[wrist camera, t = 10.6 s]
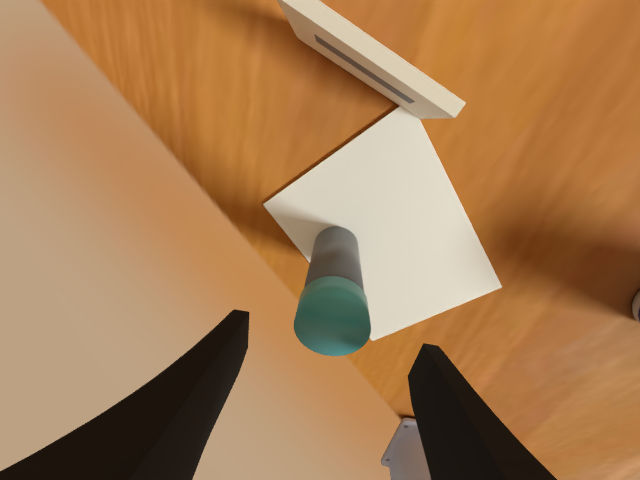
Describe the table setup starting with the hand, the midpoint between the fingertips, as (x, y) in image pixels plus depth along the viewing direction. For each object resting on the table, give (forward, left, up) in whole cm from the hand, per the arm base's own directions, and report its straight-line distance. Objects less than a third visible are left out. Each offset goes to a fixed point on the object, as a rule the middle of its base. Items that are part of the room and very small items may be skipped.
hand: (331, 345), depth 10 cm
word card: (+11, 0, -9) cm, 14 cm away
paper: (+1, -4, -9) cm, 10 cm away
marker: (0, 0, -9) cm, 9 cm away
